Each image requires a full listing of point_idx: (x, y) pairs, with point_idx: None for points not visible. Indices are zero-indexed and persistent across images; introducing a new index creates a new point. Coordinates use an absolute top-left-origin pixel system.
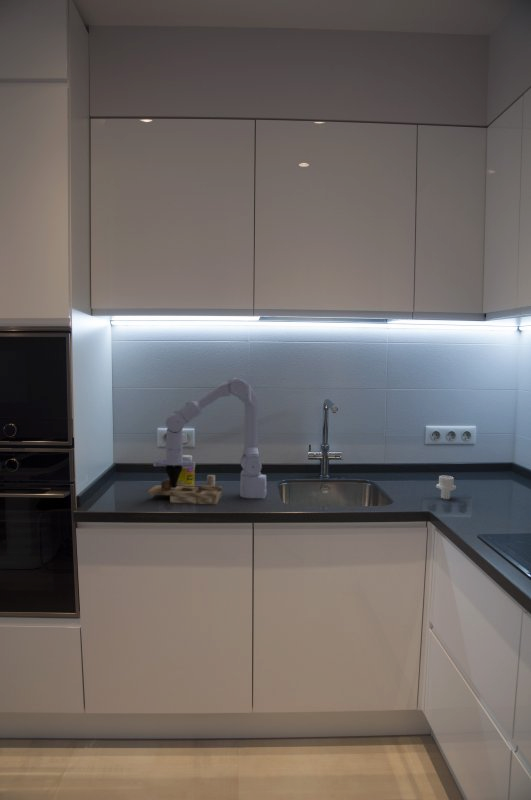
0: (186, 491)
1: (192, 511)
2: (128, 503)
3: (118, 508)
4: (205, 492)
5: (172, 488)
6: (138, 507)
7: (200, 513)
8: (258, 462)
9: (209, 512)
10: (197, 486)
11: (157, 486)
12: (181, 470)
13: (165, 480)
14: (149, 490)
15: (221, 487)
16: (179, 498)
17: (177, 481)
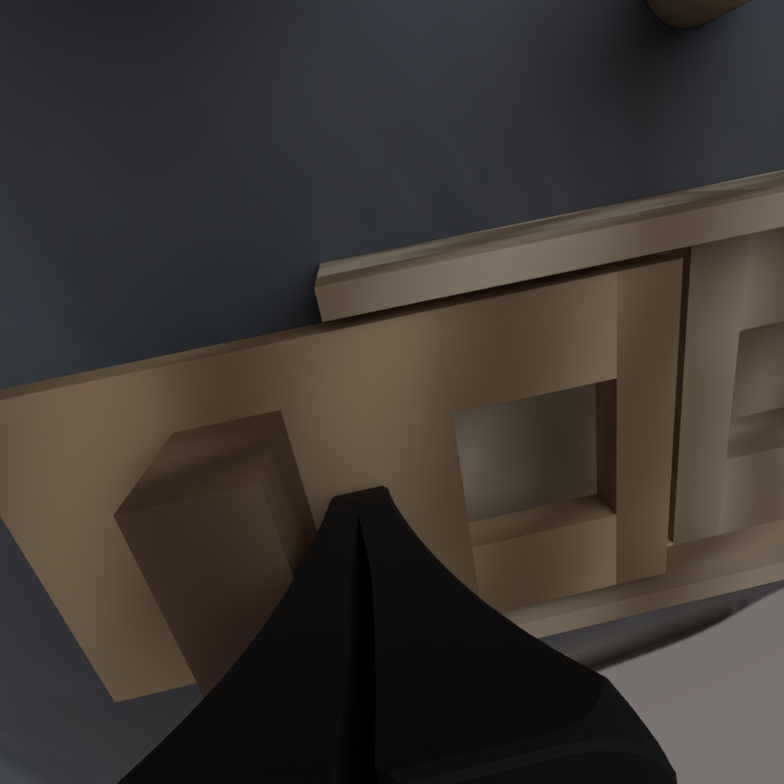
0: (565, 542)
1: (622, 620)
2: (5, 656)
3: (52, 768)
4: (745, 327)
5: (328, 491)
6: (178, 698)
7: (687, 633)
8: None
9: (747, 593)
10: (654, 249)
11: (44, 480)
12: (556, 667)
13: (219, 649)
14: (108, 677)
15: None
16: None
17: (404, 520)
